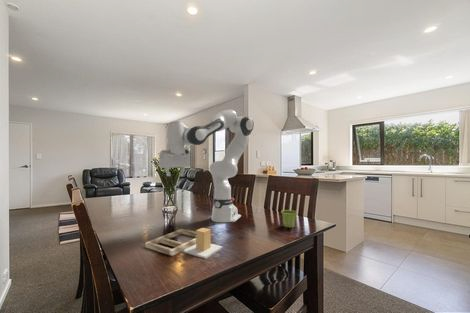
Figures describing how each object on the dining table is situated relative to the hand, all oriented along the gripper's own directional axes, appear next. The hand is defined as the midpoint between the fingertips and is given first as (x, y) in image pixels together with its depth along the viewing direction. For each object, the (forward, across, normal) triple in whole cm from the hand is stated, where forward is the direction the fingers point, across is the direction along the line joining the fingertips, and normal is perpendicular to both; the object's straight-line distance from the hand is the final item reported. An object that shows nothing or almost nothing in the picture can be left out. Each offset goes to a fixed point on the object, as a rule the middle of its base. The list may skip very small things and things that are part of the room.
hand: (175, 175), depth 117 cm
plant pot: (+32, +42, -52) cm, 74 cm away
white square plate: (+31, -11, -28) cm, 44 cm away
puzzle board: (+31, -11, -12) cm, 35 cm away
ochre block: (+30, -11, -28) cm, 43 cm away
